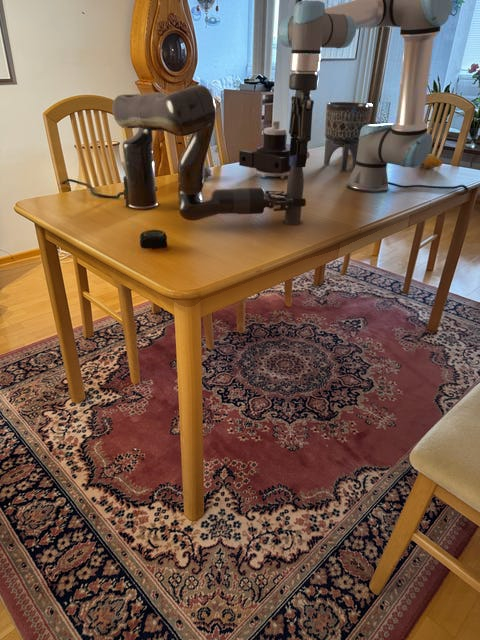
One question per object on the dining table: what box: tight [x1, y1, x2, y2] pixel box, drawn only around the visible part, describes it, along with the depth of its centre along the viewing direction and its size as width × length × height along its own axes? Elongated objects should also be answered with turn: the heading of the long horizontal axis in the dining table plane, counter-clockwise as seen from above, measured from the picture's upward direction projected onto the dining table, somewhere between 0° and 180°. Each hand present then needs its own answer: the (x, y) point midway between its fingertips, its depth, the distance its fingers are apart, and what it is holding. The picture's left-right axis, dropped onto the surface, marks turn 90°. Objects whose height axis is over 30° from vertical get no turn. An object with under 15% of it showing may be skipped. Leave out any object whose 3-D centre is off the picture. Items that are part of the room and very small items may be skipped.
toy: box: [420, 153, 443, 170], centre depth 212 cm, size 11×6×15 cm
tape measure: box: [139, 229, 168, 250], centre depth 117 cm, size 7×7×4 cm
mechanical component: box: [238, 120, 311, 179], centre depth 191 cm, size 22×21×30 cm
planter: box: [323, 101, 374, 172], centre depth 204 cm, size 20×20×26 cm
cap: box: [289, 155, 296, 167], centre depth 130 cm, size 5×4×2 cm
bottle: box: [284, 166, 305, 226], centre depth 134 cm, size 5×5×18 cm
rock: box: [204, 165, 213, 179], centre depth 182 cm, size 13×9×6 cm, turn 131°
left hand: (302, 199), depth 136 cm, fingers closed on bottle, 4 cm apart
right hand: (297, 163), depth 130 cm, fingers open, 7 cm apart
